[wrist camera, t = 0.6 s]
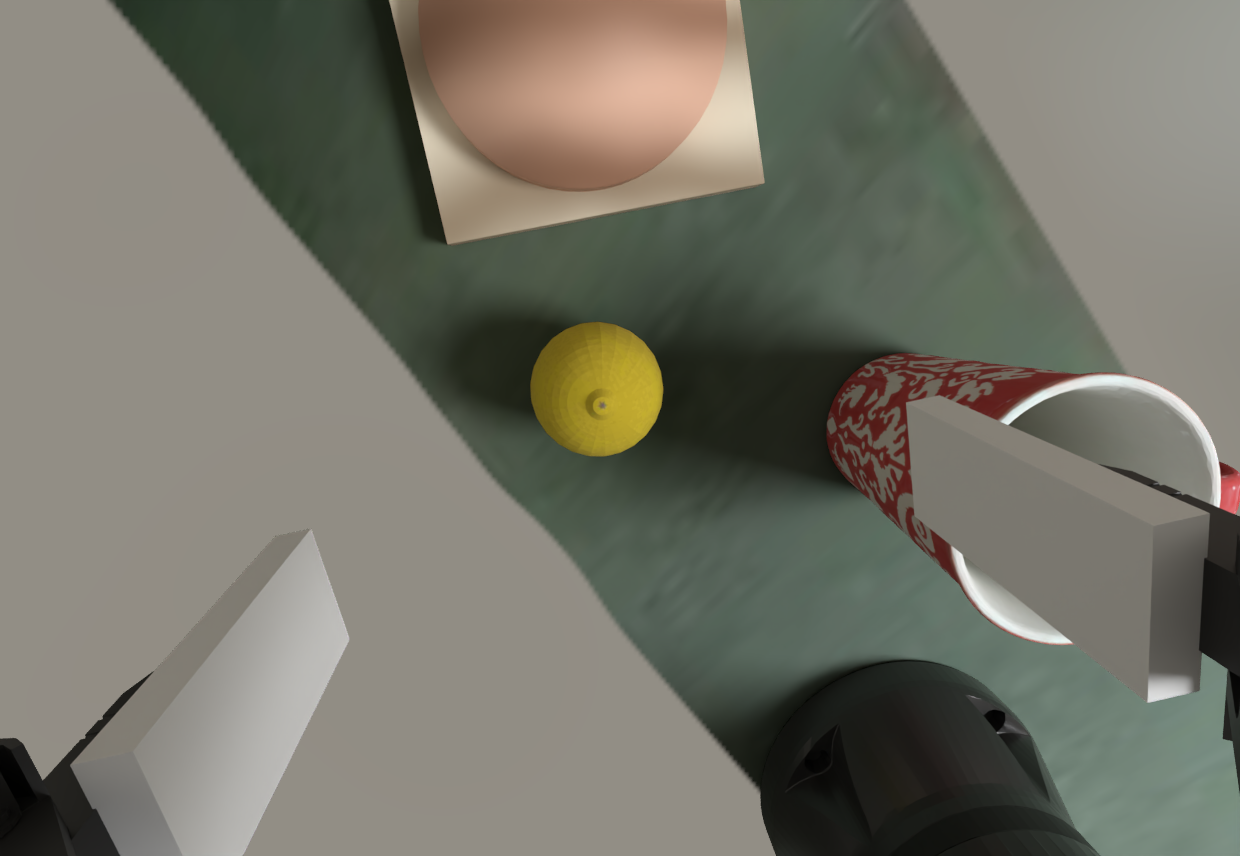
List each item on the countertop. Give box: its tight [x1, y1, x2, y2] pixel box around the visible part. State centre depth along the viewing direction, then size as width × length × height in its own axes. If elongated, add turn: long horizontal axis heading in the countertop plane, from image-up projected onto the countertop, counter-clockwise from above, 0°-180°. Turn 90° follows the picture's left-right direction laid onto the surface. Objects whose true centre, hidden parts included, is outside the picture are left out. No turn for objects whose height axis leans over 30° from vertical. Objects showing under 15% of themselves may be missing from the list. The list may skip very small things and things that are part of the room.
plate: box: [389, 0, 764, 246], centre depth 29 cm, size 14×14×3 cm
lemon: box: [530, 322, 663, 456], centre depth 30 cm, size 6×6×8 cm
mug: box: [827, 353, 1240, 645], centre depth 29 cm, size 13×9×14 cm
